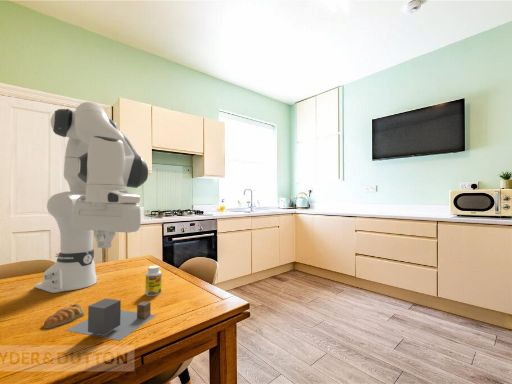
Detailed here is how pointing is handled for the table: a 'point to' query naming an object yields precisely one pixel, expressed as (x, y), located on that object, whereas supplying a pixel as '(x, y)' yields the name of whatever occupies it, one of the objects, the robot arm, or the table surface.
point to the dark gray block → (104, 316)
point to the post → (143, 310)
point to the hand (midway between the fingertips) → (104, 247)
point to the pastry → (64, 316)
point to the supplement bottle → (153, 281)
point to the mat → (126, 327)
